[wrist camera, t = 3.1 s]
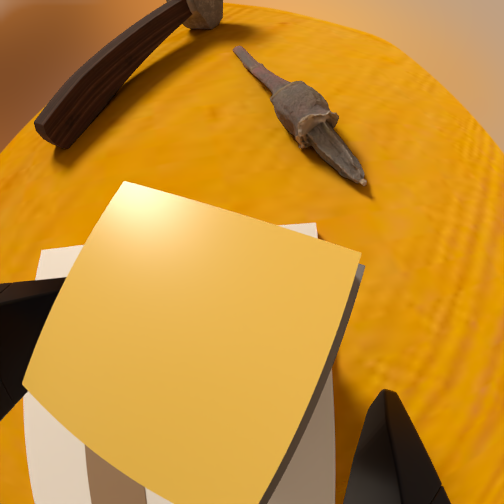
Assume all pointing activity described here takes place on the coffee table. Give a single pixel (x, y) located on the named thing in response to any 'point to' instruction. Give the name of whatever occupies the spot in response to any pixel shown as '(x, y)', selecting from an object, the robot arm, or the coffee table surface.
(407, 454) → the robot arm
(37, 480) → the board
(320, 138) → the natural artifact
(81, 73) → the hammer
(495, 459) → the coffee table surface
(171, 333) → the yellow-topped grey block
